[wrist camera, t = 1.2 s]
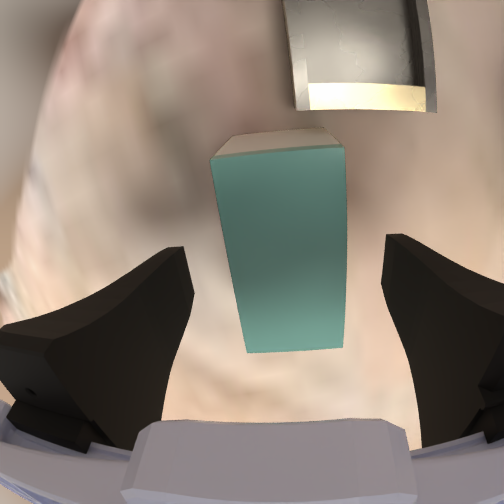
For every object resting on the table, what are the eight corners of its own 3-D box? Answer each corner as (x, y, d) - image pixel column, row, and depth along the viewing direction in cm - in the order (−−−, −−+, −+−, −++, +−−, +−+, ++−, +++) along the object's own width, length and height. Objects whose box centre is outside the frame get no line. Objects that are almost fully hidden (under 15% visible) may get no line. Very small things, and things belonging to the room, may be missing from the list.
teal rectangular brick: (323, 127, 13) (344, 147, 9) (330, 280, 17) (342, 347, 13) (233, 135, 14) (209, 160, 9) (255, 285, 17) (246, 353, 13)
